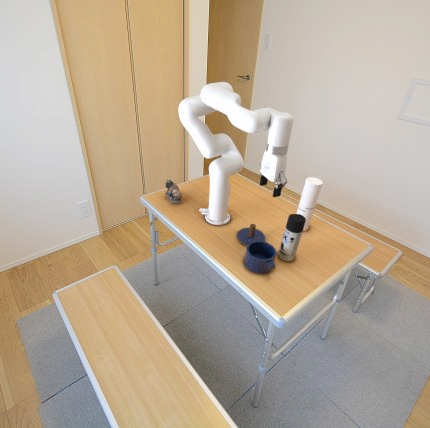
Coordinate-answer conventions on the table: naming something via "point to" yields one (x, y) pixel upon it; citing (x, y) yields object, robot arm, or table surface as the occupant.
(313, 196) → the cylindrical container
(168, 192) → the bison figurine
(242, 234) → the pan lid
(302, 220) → the spray can
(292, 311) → the table surface
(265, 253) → the pan
